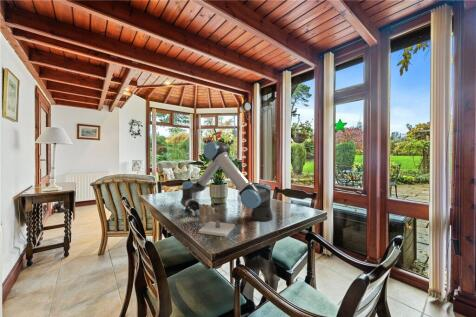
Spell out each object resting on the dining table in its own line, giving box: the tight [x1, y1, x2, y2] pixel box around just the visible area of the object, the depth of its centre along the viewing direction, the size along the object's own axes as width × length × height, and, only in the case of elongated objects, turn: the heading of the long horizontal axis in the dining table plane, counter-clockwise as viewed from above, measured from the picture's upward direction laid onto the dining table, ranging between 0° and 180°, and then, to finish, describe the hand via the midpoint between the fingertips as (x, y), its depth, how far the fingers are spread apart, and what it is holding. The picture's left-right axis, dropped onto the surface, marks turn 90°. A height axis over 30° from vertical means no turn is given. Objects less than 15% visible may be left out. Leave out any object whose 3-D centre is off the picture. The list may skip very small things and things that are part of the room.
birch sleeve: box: [198, 204, 213, 224], centre depth 137 cm, size 6×6×10 cm
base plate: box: [198, 220, 236, 238], centre depth 123 cm, size 16×16×5 cm
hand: (204, 212), depth 137 cm, fingers open, 13 cm apart
